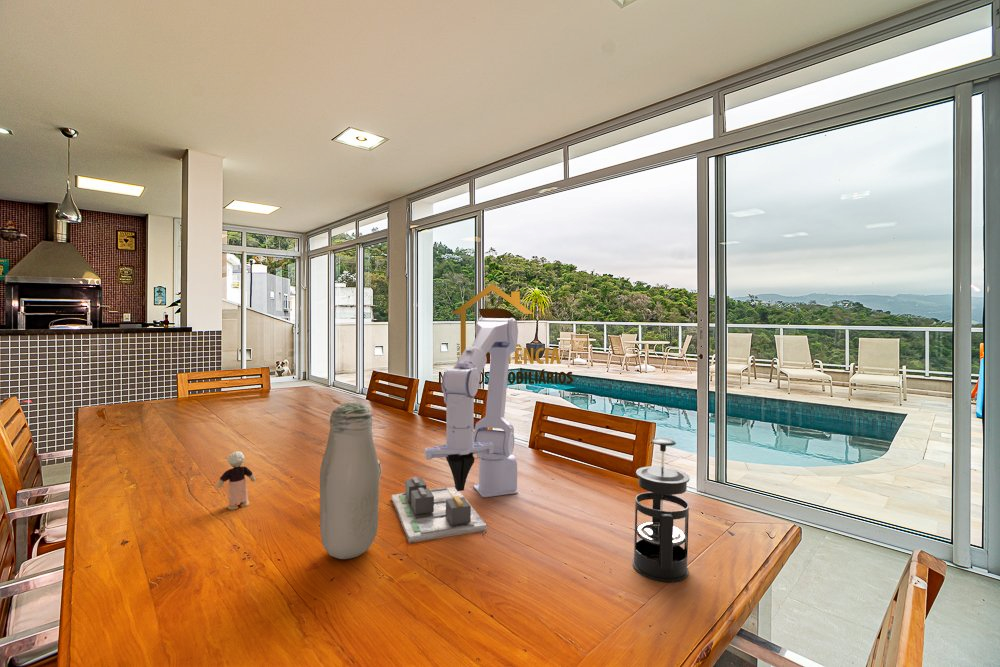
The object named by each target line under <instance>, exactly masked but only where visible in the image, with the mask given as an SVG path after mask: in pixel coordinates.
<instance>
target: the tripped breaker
mask: <svg viewBox="0 0 1000 667" xmlns="http://www.w3.org/2000/svg"><path fill="white" fill-rule="evenodd" d="M466 500H467V499H466V497H461V498H459V497H458V496H455V497H453V499H446V517H447V518H448V520H449V522H450V523H451V525H457V524H464V523H470V522H471V506H472V505H471V504H470V502H469V501H468V500H467V501H468V502H469V503H468V502H467V501H466ZM470 505H471V506H470Z"/></svg>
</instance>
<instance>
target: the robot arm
mask: <svg viewBox="0 0 1000 667" xmlns="http://www.w3.org/2000/svg"><path fill="white" fill-rule="evenodd" d="M518 328H519V327H518V323H517V320H516V319H515V318H514V317H510V318H506V317H503V318H497V317H479V318H478V319H477V320H476V323H475V328H474V330H475V332H474V333H475V339H474V341H473V343H472V345H471V346H469V347H466V348H465V349H464V350H463V352H462V354H461V355H460V357H459V358H458V360H457V362H456V363H455V365H454V366H453V367H451V368H448V369H447V370H445V371H444V373H443V375H442V378H441V379H442V380H441V382H440V384H441V385H440V386H441V391H442V393H443V402H444V404H445V405H446V412H445V413H446V416H445V417H446V418H445V419H446V421H445V423H446V424H445V425H446V428H445V429H446V435H445V437H446V438H445V440H446V441H445V444H440V445H435V446H429V447H425V448H424V458H425V460H426V461H429V460H432V459H438V458H445V459H446V461H447V463H448V467H449V468H450V472H451V474H452V478H453V481H454V487H455V488H456V490H457V491H460V492H461V491H462V492H463V491H465V487H466V486H465V485H466V482H467V478H468V476H469V473H470V470H471V468H472V466H474V463H475V456H474V455H476V457H478V483H477V484H473V488H474V490H476V491H477V493H478V494H480V496H481V497H482V498H490V497H496V496H504V495H511V494H518V493H519V490H518V463H517V458H516V457H515V455H514V454H513V452H514V449H515V428H514V426H513V424H512V423H511V422H510V421H509V420H508V419H507V418H506V417H505V413H506V412H505V411H506V400H507V391H508V390H507V389H508V388H507V387H508V378H509V377H508V376H509V365H510V363H509V362H510V357H511V354H513V353H514V352H516V351H517V346H518V337H519V329H518ZM488 353H489V355H490V365H489V374H488V386H487V394H486V395H487V396H486V406H485V416H484V417H483V418H481V419H480V420H478V421H476V423H475V426H474V421H475V420H474V418H475V417H474V416H475V415H474V410H475V409H474V408H475V396H476V394H477V393H478V391H479V390H478V389H479V387H480V386H479V384H480V380H481V376H480V375H481V373H482V372H483V370H484V368H485V366H486V364H487V361H488V359H487V358H488V357H487V354H488ZM488 428H491V429H488ZM495 429H496V430H495ZM497 429H500V430H497Z"/></svg>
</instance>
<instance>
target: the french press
mask: <svg viewBox="0 0 1000 667" xmlns="http://www.w3.org/2000/svg"><path fill="white" fill-rule="evenodd" d="M650 442H651V443H652V444H655V445H656V446H657V445H658V446H659V451H660V452H661V466H652V465H651V466H650V465H649V466H643V467H640V468H637V469H636V472H635V475H636V476H637V477H638V481H637V482H638V486H639V488H641V489H643V490H645V491H647V492H642V493H639V494H637V495H636V496H635V502H634V505H635V506H634V540H633V542H634V547H633V550H634V551H633V559H632V566H633V568H634V570H635V571H636V572H637V573H638V574H640V575H641V576H643V577H644V578H647V579H650V580H652V581H657V582H661V583H678V582H682V581H684V580H685V579H687V577H688V576H689V568H688V553H689V552H688V549H689V548H688V547H689V513H690V512H689V511H690V510H689V508H690V505H689V502H688V501H687V500H685V499H684V498H682V497H680V496H677V495H681V494H684V493H686V492H687V488H688V487H687V486H688V483H689V481H690V479H691V478H690V475H688V474H687V473H686V472H684V471H681V470H679V469H675V468H672V467H667V466H664V465H665V464H664V463H665V452H666V451H667V447H669V446H671V447H672V446H675V445H676V441H674V440H672V439H669V438H662V437H661V438H659V437H658V438H657V437H656V438H652V439H650ZM649 500H652V508H650V507H647V506H645V505H643V504H642V503H640V502H641V501H649ZM663 501H665V502H670V503H674V504H677V505H678V506H680V507H683V509H682V510H675V511H673V510H672V511H668V510H664V511H663V506H664V504H663V503H664V502H663ZM638 512H640V513H642V514H643V515H645V516H648V517H652V521H651V522H649V521H648V522H643V523H640V524H639V525H638ZM681 519H685V520H684V531H683V530H682V529H680V528H679V527H677V526H674V520H681ZM637 537H639V538H640V539H637ZM683 544H684V545H683ZM682 545H683V546H682ZM650 557H658V560H657V559H653V558H650Z"/></svg>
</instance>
